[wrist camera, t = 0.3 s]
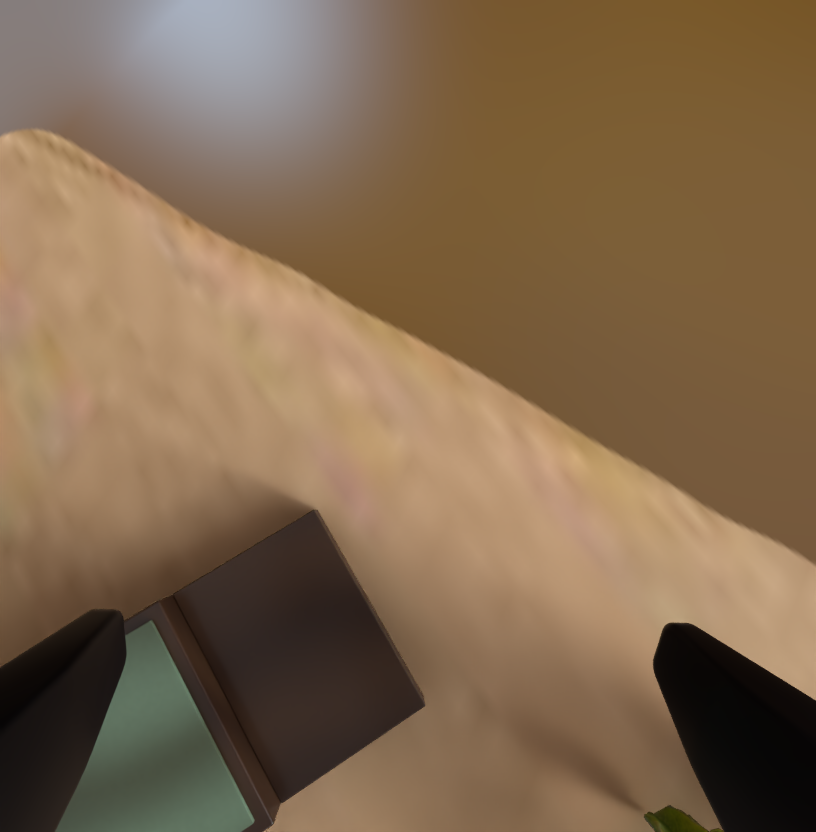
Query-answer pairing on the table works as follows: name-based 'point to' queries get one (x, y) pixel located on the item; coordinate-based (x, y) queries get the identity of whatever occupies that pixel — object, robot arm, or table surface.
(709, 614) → the table surface
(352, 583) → the step shelf
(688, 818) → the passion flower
